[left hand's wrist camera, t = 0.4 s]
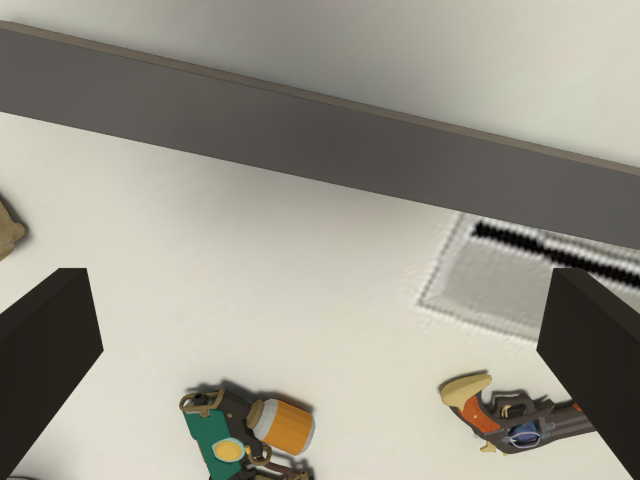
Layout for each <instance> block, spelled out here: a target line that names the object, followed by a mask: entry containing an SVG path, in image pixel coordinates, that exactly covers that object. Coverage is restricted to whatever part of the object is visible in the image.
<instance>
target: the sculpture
mask: <svg viewBox="0 0 640 480" xmlns="http://www.w3.org/2000/svg"><path fill="white" fill-rule="evenodd" d="M24 234H25V228H24V227H23V226H22V225H21V224H20V223H18V222H17V223H14V222H13V221H12V220H11V218H10V216H9V214H8V212H7V211H6V209H5V207H4V206H3V205H2V203H1V202H0V261H1V260H3V259H4V258H5V257H7V256H8V255H9V254H10V253H11V252H12V251H13V250H14V247H15V245H14V243H13V242H15V241H17V240H18V239H20V238H21V237H22V236H23V235H24Z"/></svg>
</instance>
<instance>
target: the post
mask: <svg viewBox="0 0 640 480" xmlns="http://www.w3.org/2000/svg"><path fill="white" fill-rule="evenodd" d="M0 112H5V113H9V114H14V115H19V116H23V117H28V118H32V119H37V120H42V121H46V122H51V123H55V124H60V125H65V126H69V127H74V128H79V129H83V130H88V131H92V132H97V133H102V134H106V135H111V136H115V137H120V138H125V139H129V140H134V141H139V142H143V143H148V144H152V145H157V146H162V147H166V148H171V149H175V150H180V151H185V152H189V153H194V154H199V155H203V156H208V157H212V158H217V159H222V160H226V161H231V162H235V163H240V164H245V165H249V166H254V167H258V168H263V169H268V170H272V171H277V172H282V173H286V174H291V175H295V176H300V177H305V178H309V179H314V180H318V181H323V182H328V183H332V184H337V185H342V186H346V187H351V188H355V189H360V190H365V191H369V192H374V193H378V194H383V195H388V196H392V197H397V198H402V199H406V200H411V201H415V202H420V203H425V204H429V205H434V206H438V207H443V208H448V209H452V210H457V211H461V212H466V213H471V214H475V215H480V216H485V217H489V218H494V219H498V220H503V221H508V222H512V223H517V224H521V225H526V226H531V227H535V228H540V229H545V230H549V231H554V232H558V233H563V234H568V235H572V236H577V237H581V238H586V239H591V240H595V241H600V242H605V243H609V244H614V245H618V246H623V247H628V248H632V249H637V250H640V168H637V167H633V166H629V165H624V164H620V163H616V162H611V161H607V160H603V159H599V158H594V157H590V156H586V155H581V154H577V153H573V152H568V151H564V150H560V149H555V148H551V147H547V146H543V145H538V144H534V143H530V142H525V141H521V140H517V139H512V138H508V137H504V136H500V135H495V134H491V133H487V132H482V131H478V130H474V129H469V128H465V127H461V126H457V125H452V124H448V123H444V122H439V121H435V120H431V119H426V118H422V117H418V116H414V115H409V114H405V113H401V112H396V111H392V110H388V109H383V108H379V107H375V106H371V105H366V104H362V103H358V102H353V101H349V100H345V99H340V98H336V97H332V96H327V95H323V94H319V93H315V92H310V91H306V90H302V89H297V88H293V87H289V86H284V85H280V84H276V83H272V82H267V81H263V80H259V79H254V78H250V77H246V76H241V75H237V74H233V73H229V72H224V71H220V70H216V69H211V68H207V67H203V66H198V65H194V64H190V63H186V62H181V61H177V60H173V59H168V58H164V57H160V56H155V55H151V54H147V53H143V52H138V51H134V50H130V49H125V48H121V47H117V46H112V45H108V44H104V43H99V42H95V41H91V40H87V39H82V38H78V37H74V36H69V35H65V34H61V33H56V32H52V31H48V30H44V29H39V28H35V27H31V26H26V25H22V24H18V23H13V22H8V21H1V20H0Z"/></svg>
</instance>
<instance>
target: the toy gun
mask: <svg viewBox="0 0 640 480" xmlns="http://www.w3.org/2000/svg"><path fill="white" fill-rule="evenodd" d="M491 380H492V378H491V375H487V374H481V375H474V376H469V377H465V378H461V379H458V380H455V381H453V382H450V383H449V384H447V385H446V386H445V387H444V388H443V389H442V391H441V399H442V402H443V403H444V404H445V405H447V406H449V407H450V409H451V410H452V411H453V412H454V413H455V414H456V415H457V416H458V417H459V418H460V419H461V420H462V421H463V422H465V423H466V424H467V425H469V426H470V427H471V428H472V430H473V432H474V433H475V434H477V435H479V436H480V437H481V438H482V439H484V440H486V441H487V445H486V446H484V447H482V448H480V451H482V452H496V450H495V449H496V448H497V449H499V450H500V451H502V452H503V455H504V456H506V455H508V454H514V453H519V452H523V451H527V450H531V449H535V448H538V447H541V446H544V445H546V444H549V443H551V442H553V441H555V440H558V439H562V438H567V437H571V436H576V435H580V434H585V433H590V432H594V431H597V430H596V429H595V428H594V426H593V425H592V424H591V422H590V421H589V420H588V418H587V417H586V416H585V414H584V413H583V412H582V411H581V409H580V408H579V407H578V405H577V404H576V403H575V404H573V406H571V407H567V408H563V409H558V410H553V408H554V406H555V404H554V403H553V402H552V401H551V399H548V400H546V401H544V402H542V403H540V404H538V405H535V404H534V402H533V400H532V399H531V398H530V397H529V396H528V395H526V394H523V395H519V396H513V397H496V398H495V406H494V409H493V410H492V411H489V410H487V409H486V408H485V407H484V406H483V404H482V402H481V392H482V389H484V388H485V387H486V386H488V385H489V384H490V383H491ZM518 404H523V407H522V409H521V410H517V411H513V412H509V413H507V409H508V408H509V407H511V405H518ZM502 405H504V407H503V408H502V411H501V414H500V408H501V406H502ZM504 410H505V414H503V412H504ZM510 427H512V429H511V430H510V431H509V432H507V428H510ZM538 428H539V429H538ZM510 438H511V439H513V440H516V441H515V442H512V441H511V440H510Z"/></svg>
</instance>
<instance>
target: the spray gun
mask: <svg viewBox="0 0 640 480" xmlns="http://www.w3.org/2000/svg"><path fill="white" fill-rule="evenodd" d="M215 396H217V398H216V397H215ZM211 397H214V398H213V400H212V398H211ZM188 399H193V402H189V403H188V404H187V405H185V406H183V405H184V403H185V401H186V400H188ZM179 407H180V409H181V411H183V414H184V417H185V420H186V422H187V425H188V428H189V431H190V433H191V436H192V437H193V439H195V440H197V443H198V446H199V448H200V451H201V454H202V456H203V459H204V462H205V463H206V464H207V467H208V470H209V473H210V477H209V480H273V479H270V478H267V477H264V476H260V475H256V473H255V472H256V469H252V470H248V469H246V468H244V467H243V466H242V463H244V462H245V461H247V460H248V459H249V460H250V462H251V463H252V464H254V465H258V466H264V467H266V468H268V469H270V470H273V471H276V472H280V473H285V474H287V475H288V478H284V479H283V480H314V478H313V476H308V473H307V471H306V470H302V471H301V472H300V474H296V472H294V471H293V470H292V469H291V468H288V467H286V466H281V465H277V464H274V463H272V462H270V458H271V452H272V448H271V447H270V446H268V445H262V444H261V441H262V442H265V443H267V444H269V445H271V446H274V447H276V448H278V449H281V450H283V451H285V452H287V453H290V454H292V455H300V454H301V453H303V452H304V451H305V450H306V449H307V448H308V446H309V444H310V442H311V440H312V437H313V434H314V430H315V421H314V418H313V416H312V415H311V414H310V413H308V412H306V411H303V410H301V409H299V408H296V407H294V406H292V405H289V404H287V403H284V402H282V401H280V400H277V399H269V400H267V401H264V402H263V401H262V400H260V399H259V400H257V401H256V402H255V403H254V404H252V405H251V404H250V403H249V402H247V401H245V400H243V399H241V398H239V397H237V396H235V395H233V394H231V393H229V392H227V391H225V390H224V389H222V388H220V389H219V391H218V392H212V393H198V394H189V395H186V396H184V397H183V398H182V399H181V401H180V404H179ZM245 418H246V419H247V423H246V420H245ZM252 429H253V430H252ZM263 450H267V456H266V459H265V458H264V457H263V455H262V454H263ZM253 457H256V459H257V460H255V459H254V458H253Z"/></svg>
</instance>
